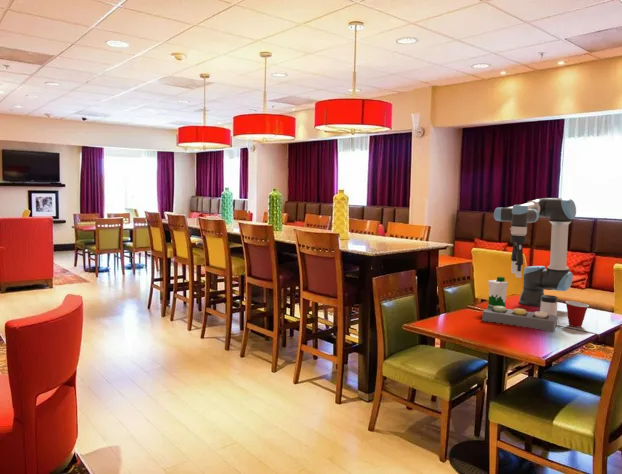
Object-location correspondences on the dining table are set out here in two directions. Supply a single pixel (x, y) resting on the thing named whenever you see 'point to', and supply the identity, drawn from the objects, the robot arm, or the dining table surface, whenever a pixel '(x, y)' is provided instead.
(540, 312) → the cream button
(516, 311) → the mustard button
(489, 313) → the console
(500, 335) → the dining table surface
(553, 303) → the jar
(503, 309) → the sage button
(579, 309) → the plastic cup
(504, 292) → the milk carton
